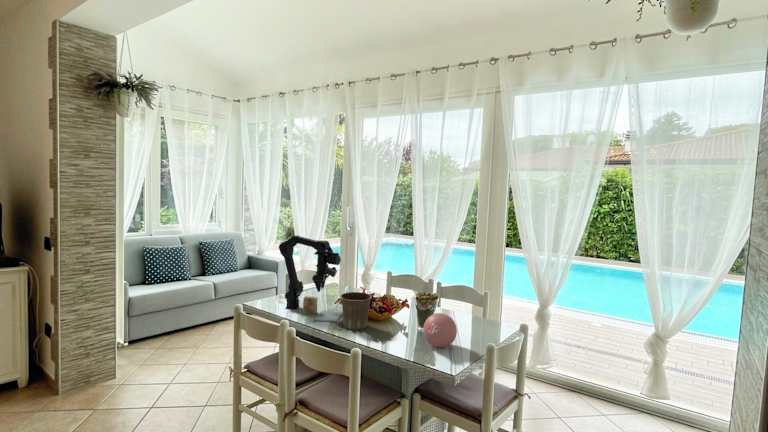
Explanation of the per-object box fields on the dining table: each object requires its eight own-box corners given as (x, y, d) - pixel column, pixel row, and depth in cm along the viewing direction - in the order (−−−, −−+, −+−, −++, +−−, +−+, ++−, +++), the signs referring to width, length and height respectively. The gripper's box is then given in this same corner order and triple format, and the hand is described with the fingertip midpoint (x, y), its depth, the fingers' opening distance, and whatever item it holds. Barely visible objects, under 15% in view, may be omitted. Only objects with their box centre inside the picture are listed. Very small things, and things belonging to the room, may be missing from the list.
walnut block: (302, 313, 229) (303, 298, 229) (305, 311, 233) (305, 296, 233) (315, 314, 228) (315, 298, 228) (316, 312, 232) (317, 297, 232)
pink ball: (413, 351, 180) (414, 317, 180) (429, 338, 198) (430, 307, 197) (446, 359, 173) (448, 324, 173) (460, 344, 191) (461, 312, 190)
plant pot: (366, 333, 201) (367, 301, 201) (335, 329, 205) (336, 298, 204) (373, 323, 217) (374, 293, 216) (344, 320, 221) (345, 291, 220)
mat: (314, 320, 217) (314, 319, 217) (322, 311, 235) (322, 310, 235) (336, 322, 216) (336, 321, 216) (342, 312, 234) (342, 311, 234)
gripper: (332, 267, 222) (331, 295, 223) (339, 261, 240) (337, 287, 241) (312, 265, 222) (311, 293, 223) (320, 259, 241) (319, 285, 242)
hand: (320, 289), depth 232 cm, fingers open, 9 cm apart
